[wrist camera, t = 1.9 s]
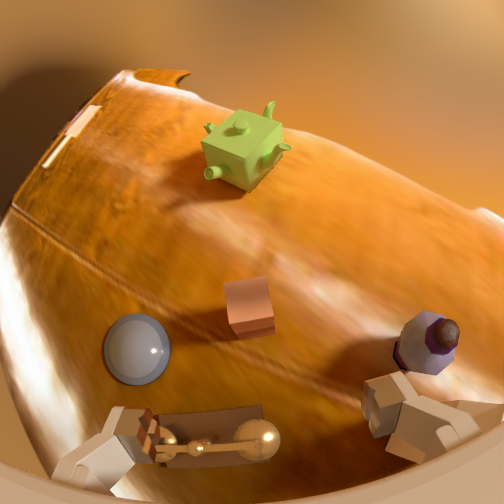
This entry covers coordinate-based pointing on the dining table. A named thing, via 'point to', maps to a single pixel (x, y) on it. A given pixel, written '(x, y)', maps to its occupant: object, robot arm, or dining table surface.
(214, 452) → the brass balance
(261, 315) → the terracotta block
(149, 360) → the gray dish
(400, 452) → the milk carton
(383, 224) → the dining table surface
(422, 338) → the potion bottle
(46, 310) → the dining table surface
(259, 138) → the kettle
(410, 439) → the robot arm
